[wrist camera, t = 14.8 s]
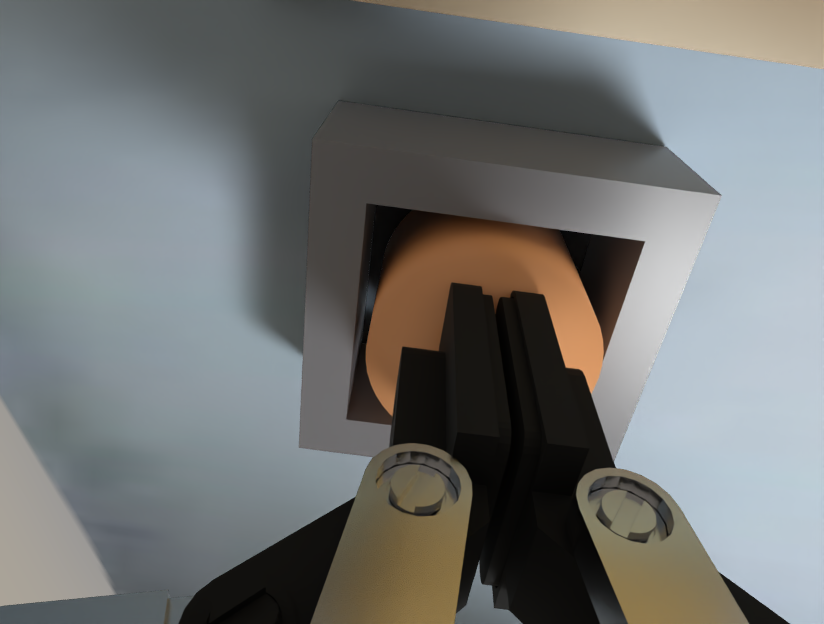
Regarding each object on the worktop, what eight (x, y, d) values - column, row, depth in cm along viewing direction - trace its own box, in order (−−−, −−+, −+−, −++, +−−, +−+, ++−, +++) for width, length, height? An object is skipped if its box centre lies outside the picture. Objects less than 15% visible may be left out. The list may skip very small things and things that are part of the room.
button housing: (579, 402, 17) (604, 486, 14) (321, 369, 16) (298, 447, 14) (666, 146, 13) (722, 195, 10) (338, 100, 13) (312, 138, 10)
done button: (544, 363, 16) (568, 462, 13) (373, 341, 15) (356, 436, 12) (591, 201, 13) (635, 274, 10) (392, 173, 13) (377, 239, 10)
